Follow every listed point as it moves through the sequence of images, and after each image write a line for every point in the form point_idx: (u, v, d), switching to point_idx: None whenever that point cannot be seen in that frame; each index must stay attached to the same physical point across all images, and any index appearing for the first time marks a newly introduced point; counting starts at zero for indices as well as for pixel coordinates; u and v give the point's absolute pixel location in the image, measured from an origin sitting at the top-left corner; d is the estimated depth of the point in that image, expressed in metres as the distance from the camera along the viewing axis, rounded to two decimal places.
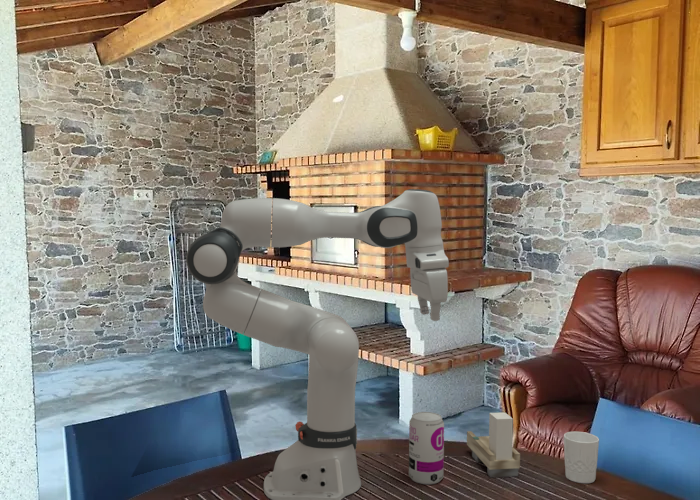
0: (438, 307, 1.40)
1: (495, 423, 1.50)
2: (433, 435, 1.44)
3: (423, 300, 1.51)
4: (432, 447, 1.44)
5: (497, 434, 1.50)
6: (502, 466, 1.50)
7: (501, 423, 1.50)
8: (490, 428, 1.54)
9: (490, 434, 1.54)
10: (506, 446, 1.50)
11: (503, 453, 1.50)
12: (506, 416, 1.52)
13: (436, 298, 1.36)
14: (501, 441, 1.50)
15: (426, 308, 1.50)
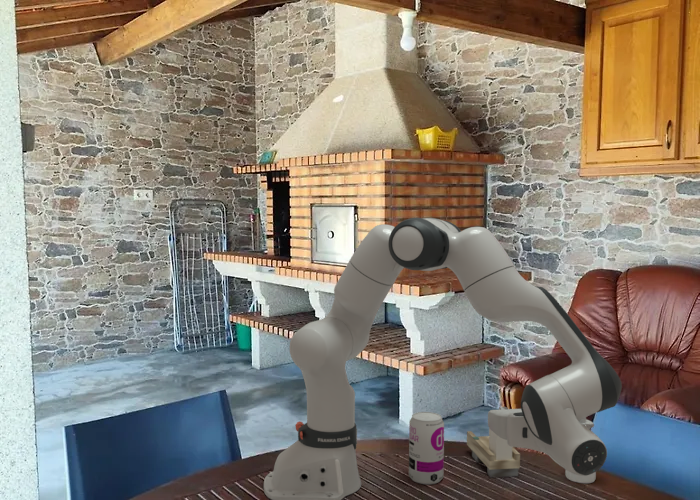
0: None
1: None
2: (433, 435, 1.44)
3: None
4: (432, 447, 1.44)
5: None
6: (502, 466, 1.50)
7: None
8: None
9: (490, 434, 1.54)
10: (506, 446, 1.50)
11: (503, 453, 1.50)
12: None
13: (488, 415, 1.33)
14: (501, 441, 1.50)
15: None
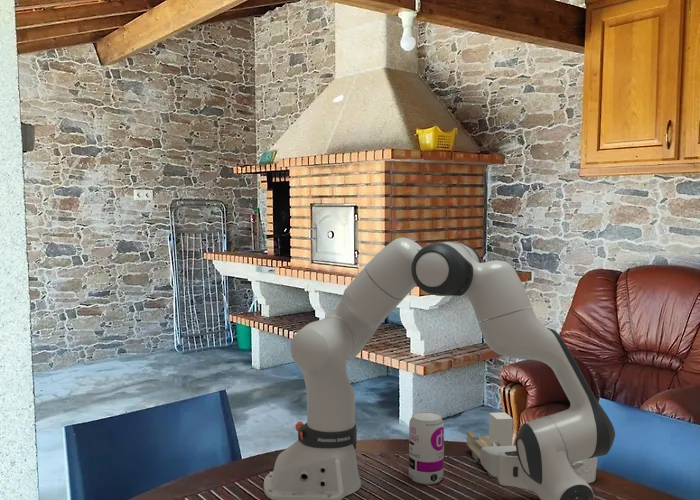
0: None
1: (495, 423, 1.50)
2: (433, 435, 1.44)
3: None
4: (432, 447, 1.44)
5: (497, 434, 1.50)
6: None
7: (501, 423, 1.50)
8: (490, 428, 1.54)
9: (490, 434, 1.54)
10: None
11: None
12: (506, 416, 1.52)
13: (480, 452, 1.37)
14: (501, 441, 1.50)
15: None
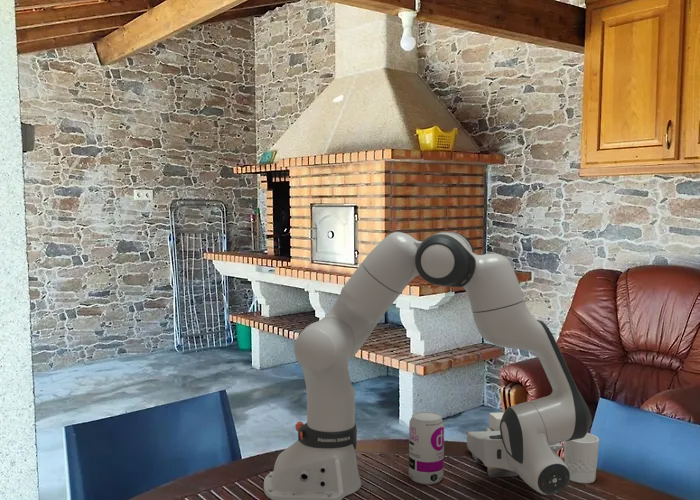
0: None
1: (495, 423, 1.50)
2: (433, 435, 1.44)
3: None
4: (432, 447, 1.44)
5: None
6: None
7: None
8: None
9: None
10: None
11: None
12: None
13: (467, 437, 1.46)
14: None
15: None
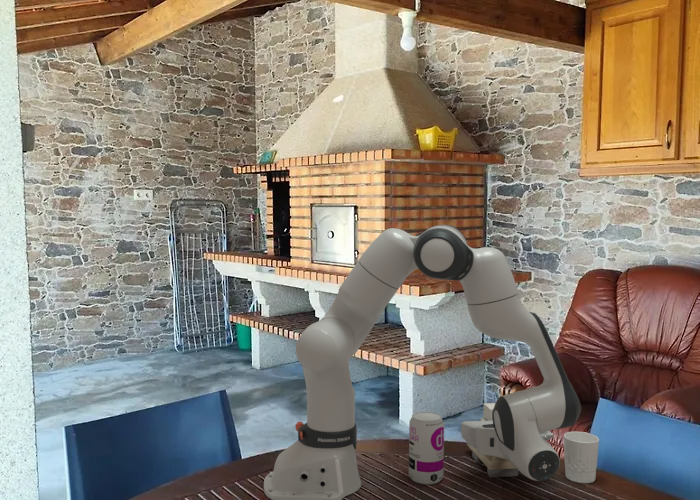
0: None
1: (489, 413, 1.55)
2: (433, 435, 1.44)
3: None
4: (432, 447, 1.44)
5: None
6: (502, 466, 1.50)
7: None
8: None
9: None
10: None
11: None
12: None
13: (461, 426, 1.50)
14: None
15: None
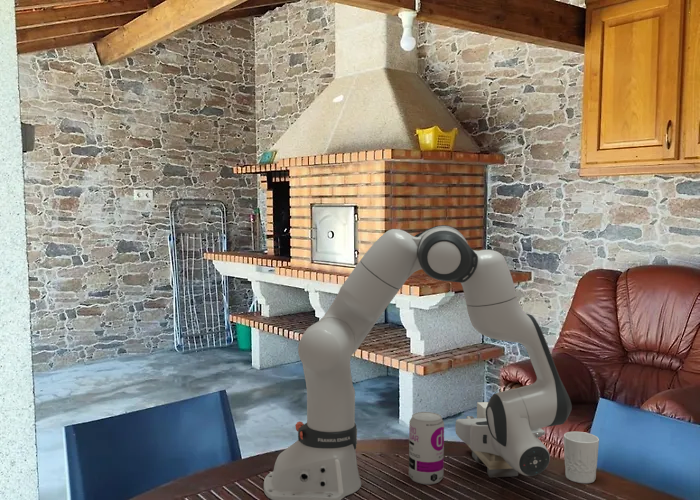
0: None
1: (482, 412, 1.59)
2: (433, 435, 1.44)
3: None
4: (432, 447, 1.44)
5: None
6: (502, 466, 1.50)
7: None
8: (478, 417, 1.63)
9: None
10: None
11: None
12: None
13: None
14: None
15: None
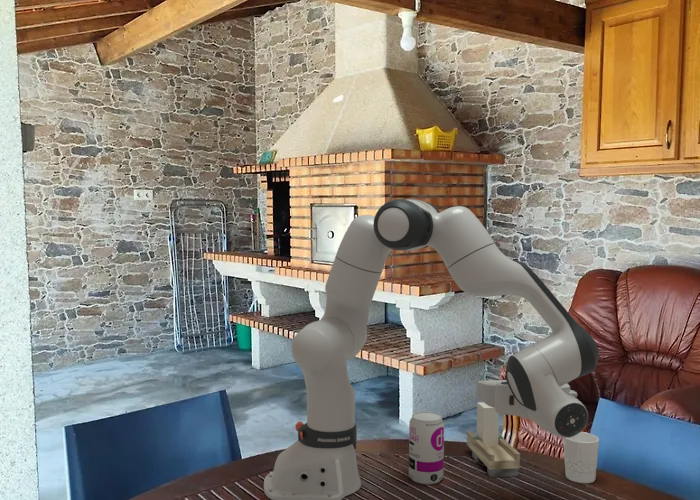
0: None
1: (482, 412, 1.59)
2: (433, 435, 1.44)
3: None
4: (432, 447, 1.44)
5: (484, 422, 1.59)
6: (502, 466, 1.50)
7: (488, 412, 1.59)
8: (478, 417, 1.63)
9: (478, 423, 1.62)
10: (492, 433, 1.59)
11: (490, 440, 1.59)
12: None
13: (477, 386, 1.39)
14: (488, 429, 1.59)
15: None
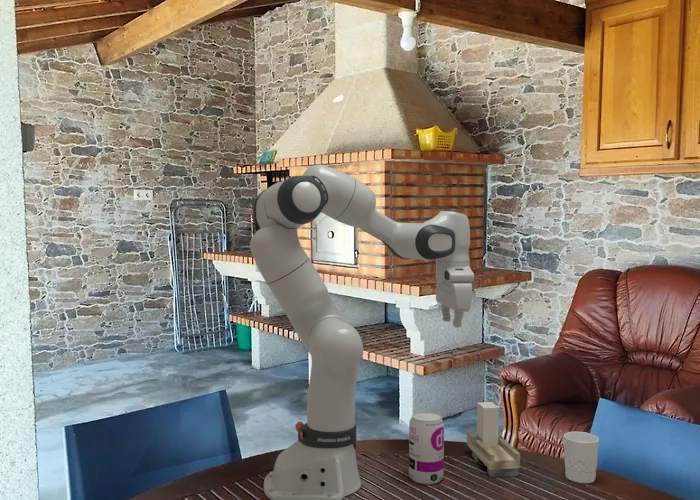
0: (461, 315, 1.59)
1: (482, 412, 1.59)
2: (432, 435, 1.44)
3: (446, 309, 1.71)
4: (432, 447, 1.44)
5: (484, 422, 1.59)
6: (502, 466, 1.50)
7: (488, 412, 1.59)
8: (478, 417, 1.63)
9: (478, 423, 1.62)
10: (492, 433, 1.59)
11: (490, 440, 1.59)
12: (493, 405, 1.61)
13: (460, 307, 1.55)
14: (488, 429, 1.59)
15: (448, 316, 1.70)
